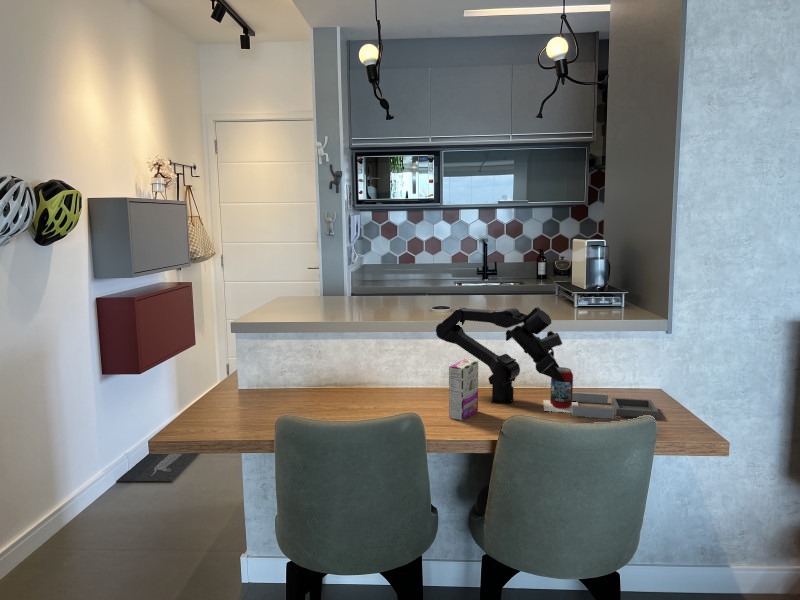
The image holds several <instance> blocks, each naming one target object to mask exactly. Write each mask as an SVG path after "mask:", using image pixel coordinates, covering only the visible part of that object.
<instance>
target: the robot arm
mask: <svg viewBox="0 0 800 600" xmlns="http://www.w3.org/2000/svg"><path fill="white" fill-rule="evenodd" d="M459 321H460V322H462V325H463V326H464V324H465V322H466V321H468V322H469V321H470V322H471V321H472V322H477V323H478V322H479V323H490V324H494V325H495V326H497V327H500V328H504V329H507V330H506V332H505V341H506V342H507V341H508V342H509V340H511V339H513V341H515V342H516V343H517V344H518V345H519V346H520V347H521V349H523V353H525V354H526V355H528V356H529V357H530V358H531V359H532V362H533V363H535V370H536V371H537V373H539V374H540V375H544V376H547V377H549V378H551V377H552V378H554V379H556V380H559V381H561V382H563V381H564V378H563V376H562V375H561V373H560V372H559V370H558V369H557V367H560V365H559V364H558V362H557V360H556V358H555V351H554V349H553V348H554V347H558V346H561V345H563V342H562V339H561V337H560V335H559V333H558V332H554V331H552V330H550V331H547V334H546V336H544V337H543V338H541V337H540V336H536V335H538V334H540V333H541V332H543V331H544V330H545V329H546V328H548V327H549V326H550V325H551V324H552V319H551V316H550V315H549V314H548V313H547V312H545V311H544V310H541V308H540V307H539V306H538V307H535V308H533V309H532V310H531V312H529V313H528V314H526V313H522V312H520V310H519V309H518V308H516V307H511V308H505V309H497V310H493V309H491V310H489V309H479V308H478V309H475V308H466V307H461V308H456V309H455V310H454V311H453V313H451V314H450V315H449V316H448V317H446V319H444V320H443V321H442V322H440V323H438V324H437V325H436V327H435V335H436V337H437V338H439V339H440V340H442V341H444V342H447V343H450V344H455V345H457V346H458V347H460V348H461V349H462V350H464V351H466V352H467V353H468V354H470V355H472V356H473V357H475V358H476V359H477V360H478V361H480V362H482V363H484V364H485V365H486V366H487V367H489V370H490V371H491V373H492V374H491V375H490V376H489V377H488V382H489V384H490V385H491V386H492V390H491V392H492V393H491V395H492V397H491V403H494V404H509V405H511V404H512V401H513V402H514V392H515V391H514V390H515V388H514V386H513V382H515V380H516V378H517V377H518V376H519V375H520V372H521V368H520V364H519V363H518V362H517V359H515V358H513V357H512V356H511V355H509V354H508V353H504V354H503V353H502V354H501V355H498V354H496V353H495V352H493V351H492V350H490V349H489V348H487V347H486V346H484V345H483V344H481V343H480V342H478V341H477V340H475V338H472V337H471V336H469V335H468V334H466V332H465V331H464V328H463V326H462V327H460V326H459V325H456V324H457V323H458V322H459ZM520 324H521V325H520ZM512 327H514V328H512ZM508 328H512V329H511V330H509V329H508Z"/></svg>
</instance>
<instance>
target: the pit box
mask: <svg viewBox="0 0 800 600" xmlns="http://www.w3.org/2000/svg"><path fill="white" fill-rule="evenodd" d="M610 405H611V408H614V416H615V417H616V416H620V417H619V418H626V417H628V418H630V419H634V418H633V417H639V416H643V415H651V416H653V417H654V418H655V419H654V420H659V410H658V409H657V407H656V406H655V404H654V402H653V401H652V399H643V398H626V397H625V398H624V397H611V403H610Z"/></svg>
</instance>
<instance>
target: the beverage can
mask: <svg viewBox="0 0 800 600" xmlns="http://www.w3.org/2000/svg"><path fill="white" fill-rule="evenodd" d="M557 369H558V370H559V372H560V373H561V375H562V376H563V378H564V381H563V382H561V381H559V380H556V379H554V378H552V377H550V378H551V379H550V398H549V400H550V403H551V404H552V405H553V406H555V407H558V408H567V407H569V406H571V405H572V392H574V390H573V388H574V386H573V385H574V373H573V372H572V369H571V368H568V367H563V366H559V367H557Z"/></svg>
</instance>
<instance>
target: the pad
mask: <svg viewBox="0 0 800 600" xmlns="http://www.w3.org/2000/svg"><path fill="white" fill-rule="evenodd" d="M542 402H543V412H544V411H549V412H548V413H558V412H564V413H563V414H573V406H580V405H579V402H572V405H571V406H569V407H567V408H558V407H555V406H553V405H552V404H551V403H550V399H549V400H547V399H543V401H542ZM551 411H552V412H551ZM565 412H566V413H565Z"/></svg>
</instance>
